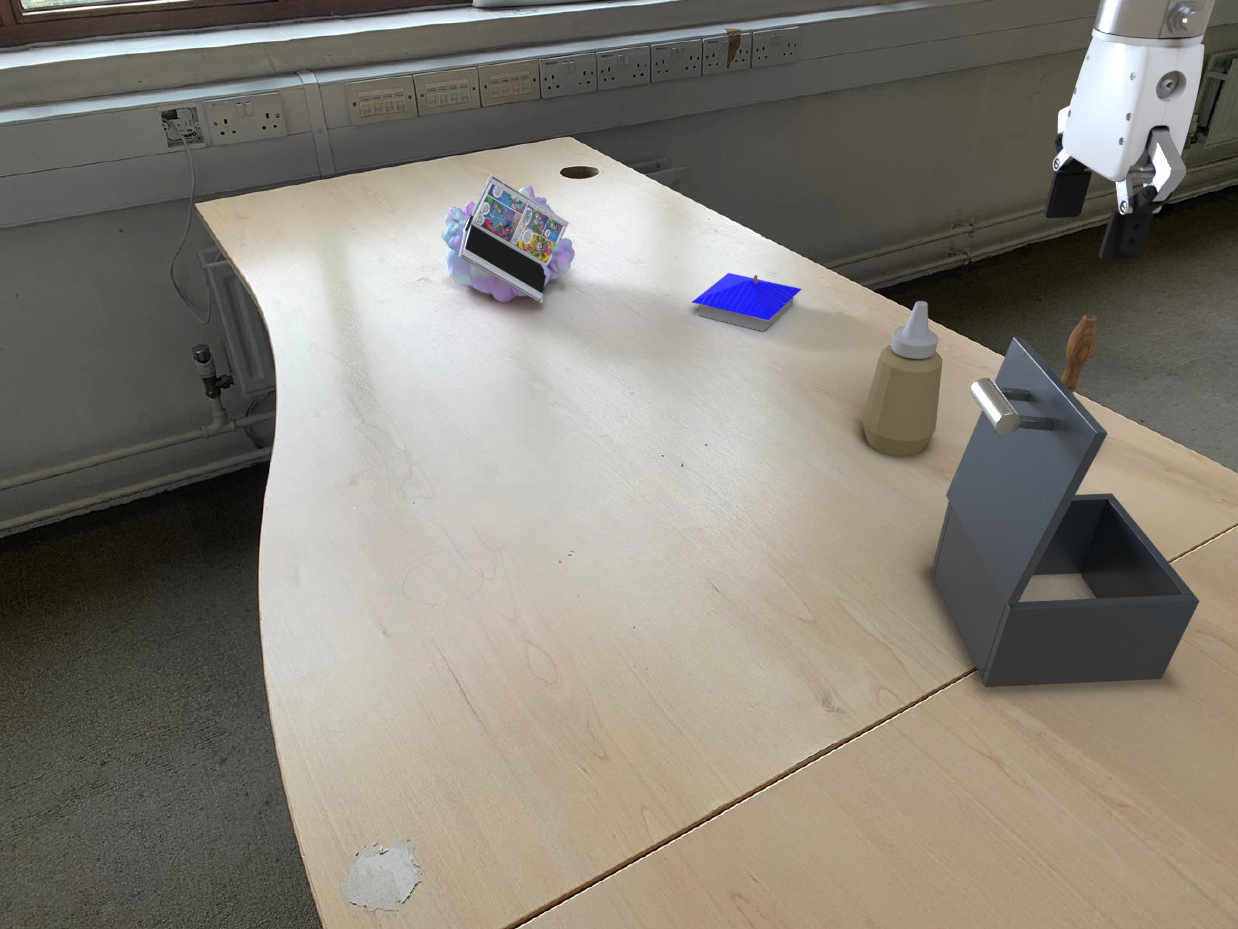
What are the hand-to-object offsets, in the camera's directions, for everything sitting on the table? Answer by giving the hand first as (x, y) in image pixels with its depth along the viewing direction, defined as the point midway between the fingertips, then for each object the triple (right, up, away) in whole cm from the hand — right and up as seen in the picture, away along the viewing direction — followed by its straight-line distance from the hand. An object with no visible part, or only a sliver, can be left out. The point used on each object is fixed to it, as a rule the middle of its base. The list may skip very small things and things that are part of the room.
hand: (1088, 236), depth 77 cm
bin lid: (-10, -20, -8) cm, 24 cm away
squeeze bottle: (-9, -18, +26) cm, 33 cm away
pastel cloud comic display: (-57, +9, +65) cm, 86 cm away
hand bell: (+9, -17, +26) cm, 33 cm away
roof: (-22, +3, +56) cm, 60 cm away
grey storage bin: (-4, -34, +2) cm, 35 cm away
